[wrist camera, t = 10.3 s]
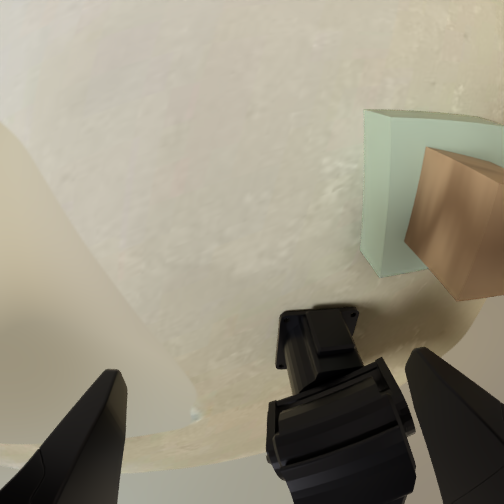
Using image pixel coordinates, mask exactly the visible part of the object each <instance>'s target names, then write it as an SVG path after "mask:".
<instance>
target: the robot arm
mask: <svg viewBox="0 0 504 504" xmlns="http://www.w3.org/2000/svg"><path fill="white" fill-rule="evenodd" d="M352 313H353V314H352ZM358 315H359V312H358V310H357V308H356V307H347V308H336V309H324V310H311V311H297V312H285V313H282V314H281V315H280V317H279V328H278V339H277V350H276V360H275V365H276V368H277V369H287V371H288V375H289V380H290V385H291V389H292V394H293V396H290V397H287V398H284V399H281V400H278V401H276V400H275V401H272V402H269V408H268V415H267V437H266V452H267V456H266V458H267V461H268V463H270V464H271V465H272V466H273V468H274V470H275V472H276V474H277V475H278V476H279V478H280V479H282V480H284V481H286V483H287V485H288V488H289V490H290V492H291V495H292V498H293V502H294V504H404V503H405V500H406V497H407V495H408V494H410V493H412V492H413V489H414V485H415V480H416V473H415V469H416V465H415V461H414V458H413V455H412V452H411V449H410V446H409V443H408V440H407V437H408V436H410V435H413V434H415V432H416V431H415V426H414V423H413V419H412V416H411V413H410V411H409V408H408V405H407V403H406V401H405V399H404V396H403V394H402V392H401V390H400V388H399V386H398V385H397V383H396V381H395V379H394V377H393V376H392V374H391V372H390V370H389V368H388V367H387V365H386V363H385V361H384V360H383V358H382V357H381V358H379V359H376V360H375V362H373V363H371V364H368V365H366V366H364V365H363V362H362V360H361V358H360V355H359V353H358V351H357V348H356V346H355V343H354V340H353V338H352V336H353V333H354V329H355V326H356V322H357V319H358ZM285 318H288V319H286V320H285ZM405 372H406V376H407V380H408V384H409V388H410V392H411V396H412V401H413V405H414V409H415V412H416V415H417V418H418V421H419V424H420V427H421V429H422V433H423V436H424V439H425V442H426V445H427V448H428V451H429V455H430V458H431V461H432V464H433V468H434V471H435V475H436V478H437V482H438V485H439V488H440V493H441V496H442V500H443V504H504V404H503V403H500V401H499V400H497V399H496V398H495V397H493V396H492V395H491V394H489V393H488V392H487V391H485V390H484V389H483V388H481V387H480V386H479V385H477V384H476V383H474V382H473V381H472V380H470V379H469V378H468V377H466V376H465V375H464V374H462V373H461V372H459V371H458V370H457V369H455V368H454V367H452V366H451V365H450V364H448V363H447V362H446V361H444V360H443V359H442V358H440V357H439V356H437V355H436V354H435V353H433V352H432V351H430V350H429V349H428V348H426V347H420V348H415V349H414V350H413V351H412V353H411V355H410V357H409V359H408V361H407V363H406V366H405ZM126 409H127V386H126V384H125V381H124V379H123V377H122V374H121V372H120V371H119V370H117V369H106V370H105V371H104V372H103V373H102V374H101V375H100V376H99V377H98V378H97V380H96V381H95V382H94V383H93V384H92V385H91V387H90V388H89V389H88V390H87V391H86V392H85V394H84V395H83V396H82V397H81V398H80V400H79V401H78V402H77V403H76V404H75V406H74V407H73V408H72V409H71V410H70V411H69V412H68V414H67V415H66V416H65V417H64V418H63V420H62V421H61V422H60V423H59V424H58V426H57V427H56V428H55V429H54V431H53V432H52V433H51V434H50V435H49V437H48V438H47V439H46V440H45V441H44V443H43V444H42V445H41V446H40V449H38V450H37V451H36V452H35V453H34V455H33V456H32V457H31V458H30V459H29V461H28V462H27V463H26V464H25V465H24V466H23V468H22V469H21V470H20V471H19V472H18V473H17V474H16V475H15V476H14V477H13V478H12V479H11V480H10V481H9V482H8V483H7V484H6V485H5V486H4V487H3V488H2V489H1V490H0V504H117V499H118V490H119V480H120V473H121V465H122V458H123V451H124V444H125V433H126Z"/></svg>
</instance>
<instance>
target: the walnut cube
mask: <svg viewBox="0 0 504 504" xmlns="http://www.w3.org/2000/svg"><path fill="white" fill-rule="evenodd" d="M404 242H405V243H406V244H407V245H408V247H409V248H410V249H411V250H412V251H413V252H414V253H415V254H416V255H417V256H418V257H419V258H420V260H421V261H422V262H423V263H424V264H425V265H426V266H427V267H428V268H429V270H430V271H431V272H432V273H433V274H434V275H435V276H436V277H437V279H438V280H439V281H440V282H441V283H442V284H443V286H444V287H445V288H446V289H447V290H448V291H449V293H450V294H451V295H452V296H453V297H454V299H455V300H456V301H464V300H472V299H479V298H487V297H494V296H500V295H504V168H502V167H500V166H498V165H496V164H494V163H492V162H489V161H485V160H481V159H478V158H474V157H470V156H466V155H462V154H458V153H453V152H449V151H445V150H440V149H435V148H431V147H426V148H425V154H424V159H423V164H422V169H421V174H420V179H419V183H418V188H417V192H416V197H415V201H414V205H413V209H412V213H411V217H410V221H409V225H408V228H407V232H406V236H405V239H404Z"/></svg>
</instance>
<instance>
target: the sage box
mask: <svg viewBox="0 0 504 504" xmlns="http://www.w3.org/2000/svg"><path fill="white" fill-rule="evenodd" d="M426 147H431V148H435V149H440V150H445V151H449V152H453V153H458V154H462V155H466V156H470V157H474V158H478V159H481V160H485V161H489V162H492V163H494V164H496V165H498V166H500V167H502V168H504V125H501V124H498V123H495V122H492V121H489V120H486V119H483V118H480V117H475V116H466V115H458V114H448V113H436V112H423V111H405V110H370V109H364V190H363V213H362V231H361V245H360V251H361V252H362V254H363V255H364V256H365V258H366V259H367V261H368V262H369V264H370V265H371V266H372V268H373V269H374V271H375V272H376V274H377V275H378V277H379V278H382V277H388V276H393V275H398V274H404V273H409V272H414V271H420V270H425V269H429V268H428V267H427V266H426V265H425V264H424V263H423V262H422V261H421V260H420V258H419V257H418V256H417V255H416V254H415V253H414V252H413V251H412V250H411V249H410V248H409V247H408V245H407V244H406V243H405V242H404V239H405V236H406V232H407V228H408V225H409V221H410V217H411V213H412V209H413V205H414V201H415V197H416V192H417V188H418V183H419V179H420V174H421V169H422V164H423V159H424V154H425V148H426Z"/></svg>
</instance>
